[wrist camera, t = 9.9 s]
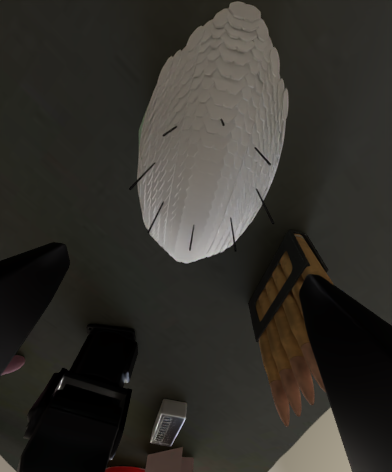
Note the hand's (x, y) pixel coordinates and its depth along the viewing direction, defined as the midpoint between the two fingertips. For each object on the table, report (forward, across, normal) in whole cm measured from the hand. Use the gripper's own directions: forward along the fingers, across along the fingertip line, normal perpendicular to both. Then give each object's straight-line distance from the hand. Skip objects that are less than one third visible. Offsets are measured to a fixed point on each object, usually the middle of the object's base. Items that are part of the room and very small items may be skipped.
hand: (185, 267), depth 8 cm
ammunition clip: (+13, -9, +10) cm, 18 cm away
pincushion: (+5, 0, -3) cm, 6 cm away
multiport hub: (+13, +1, +48) cm, 50 cm away
